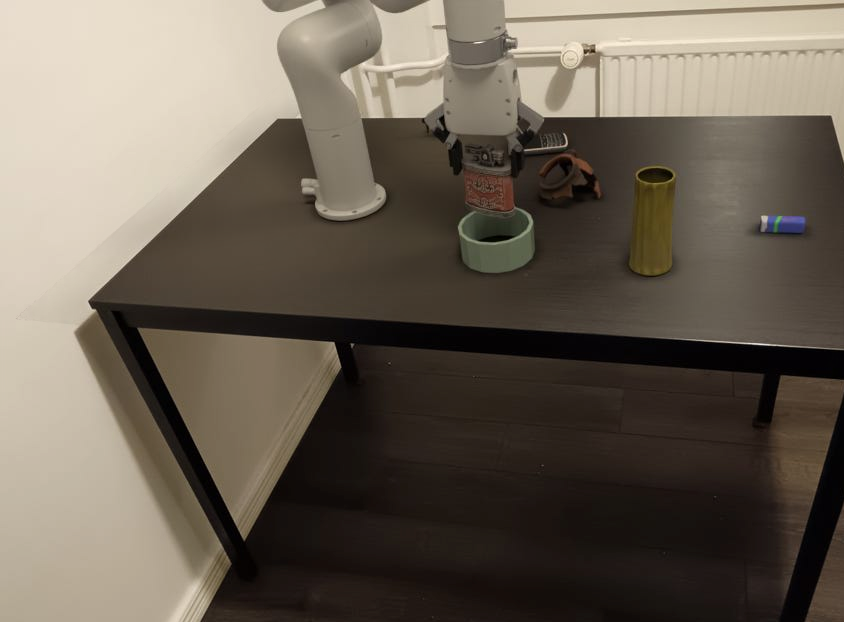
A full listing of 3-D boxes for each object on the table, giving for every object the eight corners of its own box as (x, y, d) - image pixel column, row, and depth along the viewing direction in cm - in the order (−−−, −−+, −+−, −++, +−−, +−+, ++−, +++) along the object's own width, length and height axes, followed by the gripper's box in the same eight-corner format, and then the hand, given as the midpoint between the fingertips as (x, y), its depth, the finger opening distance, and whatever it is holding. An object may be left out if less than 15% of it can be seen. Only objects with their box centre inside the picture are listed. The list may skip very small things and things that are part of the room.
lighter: (519, 209, 111) (516, 145, 105) (508, 220, 109) (504, 156, 102) (473, 198, 115) (467, 136, 108) (461, 209, 113) (454, 146, 106)
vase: (663, 280, 106) (669, 188, 97) (621, 271, 109) (624, 181, 100) (678, 258, 110) (685, 168, 101) (638, 250, 112) (642, 161, 103)
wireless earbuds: (423, 136, 152) (419, 112, 149) (426, 131, 154) (423, 107, 151) (456, 136, 151) (453, 112, 147) (459, 131, 152) (456, 106, 149)
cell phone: (568, 152, 140) (568, 145, 139) (509, 158, 140) (508, 151, 139) (565, 138, 144) (565, 131, 143) (507, 144, 145) (507, 137, 144)
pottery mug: (607, 209, 123) (584, 177, 118) (555, 231, 128) (531, 201, 122) (601, 160, 130) (579, 127, 125) (553, 182, 135) (530, 151, 129)
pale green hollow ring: (453, 270, 114) (449, 242, 111) (472, 231, 122) (469, 204, 119) (525, 275, 111) (523, 246, 108) (540, 235, 119) (539, 207, 116)
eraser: (759, 226, 114) (761, 214, 112) (802, 228, 112) (804, 216, 111) (759, 233, 112) (761, 221, 111) (803, 235, 111) (805, 223, 109)
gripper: (550, 36, 97) (552, 162, 108) (422, 37, 101) (437, 158, 113) (538, 58, 92) (542, 188, 103) (404, 58, 96) (422, 182, 108)
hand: (487, 171), depth 108 cm, fingers closed on lighter, 8 cm apart
